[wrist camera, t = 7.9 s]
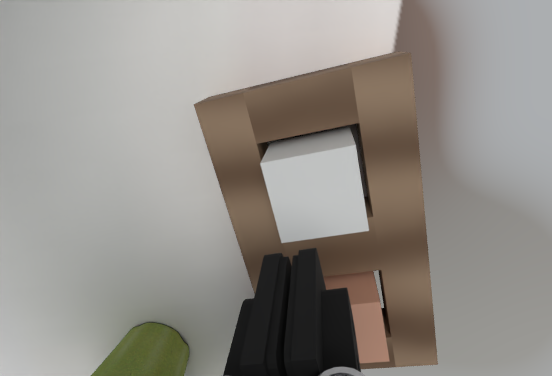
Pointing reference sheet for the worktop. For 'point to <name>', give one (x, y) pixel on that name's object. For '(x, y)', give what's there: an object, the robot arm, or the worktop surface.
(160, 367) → the plant pot
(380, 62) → the brown rectangular frame
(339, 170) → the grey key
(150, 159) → the worktop surface
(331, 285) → the terracotta key
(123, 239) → the worktop surface
